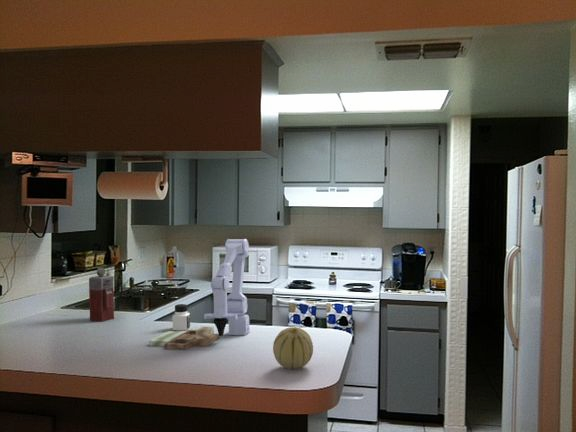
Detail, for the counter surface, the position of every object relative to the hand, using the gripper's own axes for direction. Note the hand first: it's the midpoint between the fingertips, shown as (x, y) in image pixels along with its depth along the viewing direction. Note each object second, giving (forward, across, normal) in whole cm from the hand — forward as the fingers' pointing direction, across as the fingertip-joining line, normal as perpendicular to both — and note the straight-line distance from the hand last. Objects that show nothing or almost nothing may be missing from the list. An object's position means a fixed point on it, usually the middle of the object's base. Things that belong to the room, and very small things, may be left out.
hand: (221, 335), depth 226 cm
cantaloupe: (+3, +38, -32) cm, 50 cm away
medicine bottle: (+3, -28, +23) cm, 37 cm away
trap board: (+3, -16, 0) cm, 16 cm away
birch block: (+1, -8, 0) cm, 8 cm away
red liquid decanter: (+3, -80, +39) cm, 90 cm away
